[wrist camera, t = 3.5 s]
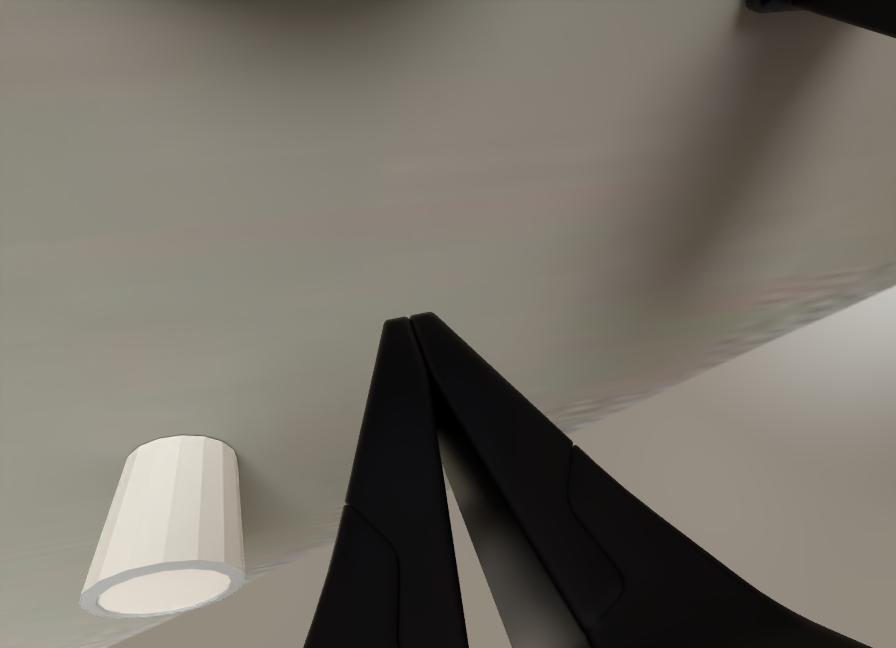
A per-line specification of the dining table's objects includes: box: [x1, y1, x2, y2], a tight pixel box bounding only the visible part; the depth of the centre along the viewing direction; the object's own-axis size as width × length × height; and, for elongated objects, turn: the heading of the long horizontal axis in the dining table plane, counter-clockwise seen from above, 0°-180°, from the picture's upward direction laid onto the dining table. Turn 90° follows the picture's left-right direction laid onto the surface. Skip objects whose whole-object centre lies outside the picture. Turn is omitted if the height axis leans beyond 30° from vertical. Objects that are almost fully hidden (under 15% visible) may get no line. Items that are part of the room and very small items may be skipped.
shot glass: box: [79, 435, 246, 619], centre depth 25 cm, size 7×7×7 cm
